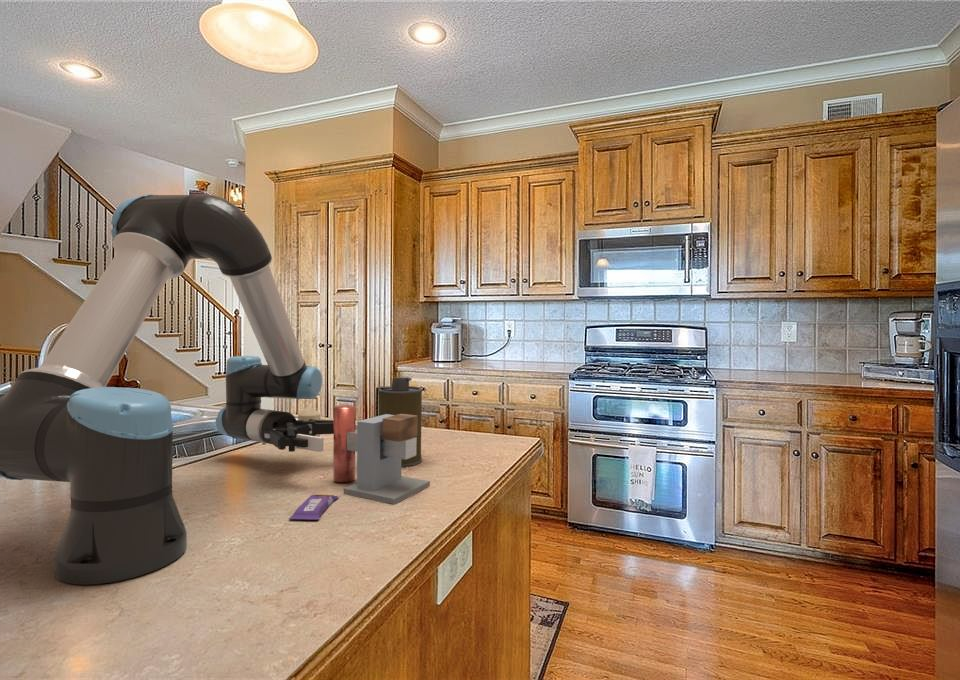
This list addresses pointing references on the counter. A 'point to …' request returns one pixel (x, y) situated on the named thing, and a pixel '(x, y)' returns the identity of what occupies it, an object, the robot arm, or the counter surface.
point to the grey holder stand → (379, 468)
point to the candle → (309, 416)
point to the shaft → (348, 444)
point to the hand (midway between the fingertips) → (345, 438)
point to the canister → (402, 407)
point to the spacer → (399, 427)
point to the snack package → (314, 507)
